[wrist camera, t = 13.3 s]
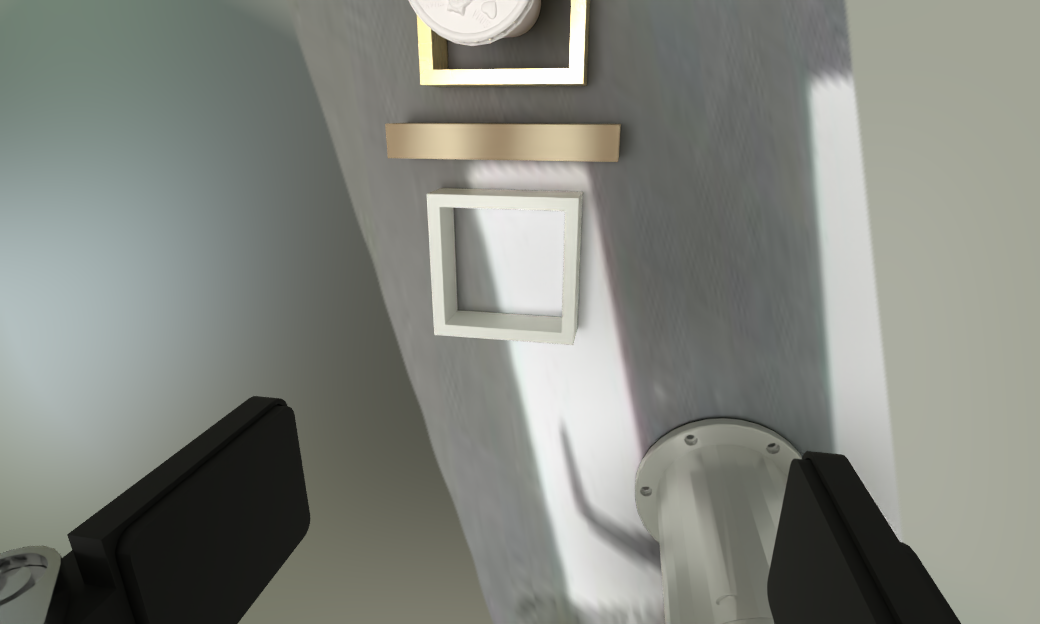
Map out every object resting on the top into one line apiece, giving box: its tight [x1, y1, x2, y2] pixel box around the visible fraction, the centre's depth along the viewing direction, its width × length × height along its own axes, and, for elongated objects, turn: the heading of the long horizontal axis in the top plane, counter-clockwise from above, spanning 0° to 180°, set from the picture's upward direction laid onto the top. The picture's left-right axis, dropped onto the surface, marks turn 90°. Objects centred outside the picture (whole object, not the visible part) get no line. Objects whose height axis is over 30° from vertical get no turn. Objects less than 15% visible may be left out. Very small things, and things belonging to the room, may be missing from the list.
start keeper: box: [427, 188, 583, 345], centre depth 37 cm, size 10×10×3 cm
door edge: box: [385, 123, 621, 162], centre depth 34 cm, size 14×2×4 cm, turn 90°
